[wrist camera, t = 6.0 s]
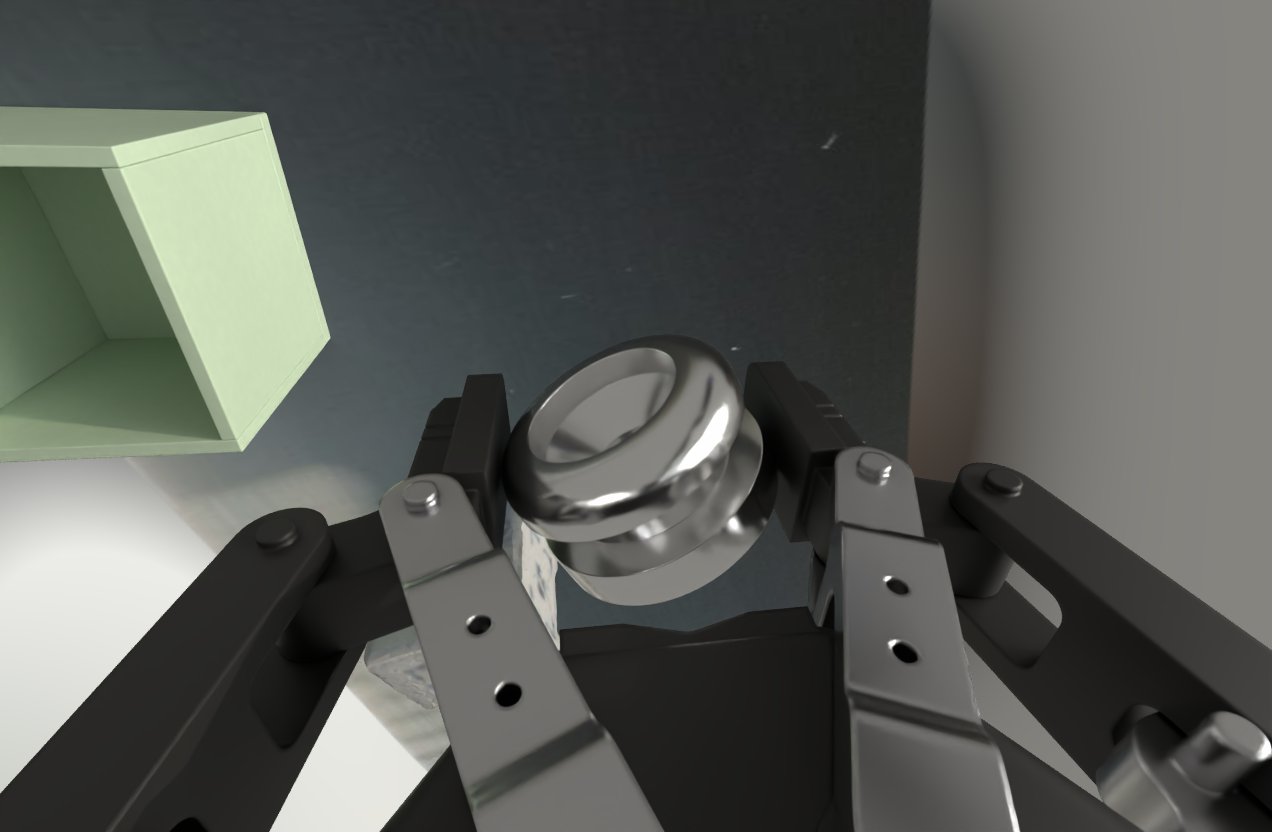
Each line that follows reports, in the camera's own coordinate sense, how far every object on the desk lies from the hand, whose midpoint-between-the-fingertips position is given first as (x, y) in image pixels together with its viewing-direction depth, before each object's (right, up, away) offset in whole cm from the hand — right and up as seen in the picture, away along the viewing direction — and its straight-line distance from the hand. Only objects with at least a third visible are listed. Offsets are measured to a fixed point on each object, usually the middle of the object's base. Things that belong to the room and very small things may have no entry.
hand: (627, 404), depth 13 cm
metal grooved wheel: (0, 0, +1) cm, 1 cm away
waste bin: (-22, +9, +15) cm, 28 cm away
